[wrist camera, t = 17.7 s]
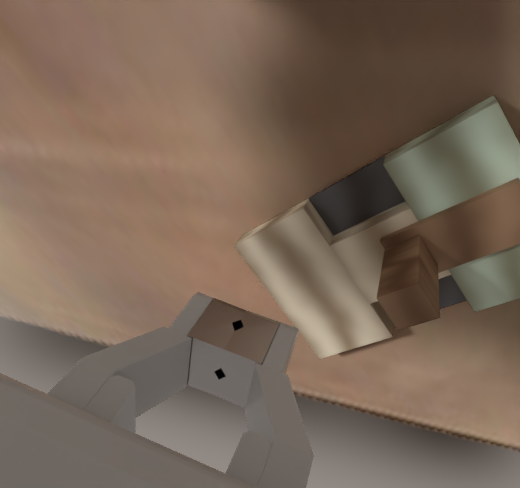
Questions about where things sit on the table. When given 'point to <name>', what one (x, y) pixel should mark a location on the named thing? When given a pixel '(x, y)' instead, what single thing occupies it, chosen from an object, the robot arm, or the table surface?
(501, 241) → the push block
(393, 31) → the table surface
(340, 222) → the board
